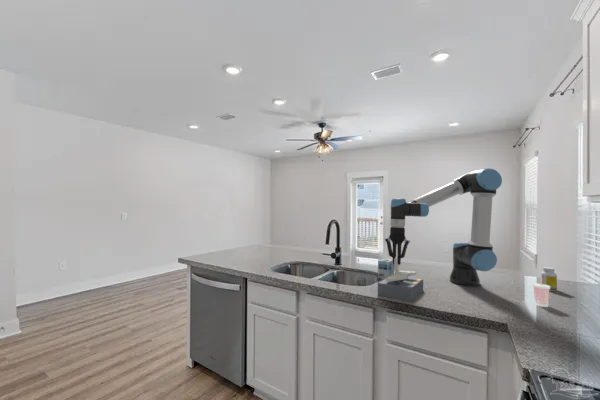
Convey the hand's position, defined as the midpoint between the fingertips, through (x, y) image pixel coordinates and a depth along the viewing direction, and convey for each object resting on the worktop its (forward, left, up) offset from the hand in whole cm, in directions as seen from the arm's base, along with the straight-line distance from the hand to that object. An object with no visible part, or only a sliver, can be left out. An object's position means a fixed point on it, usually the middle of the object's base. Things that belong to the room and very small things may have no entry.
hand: (396, 270), depth 153 cm
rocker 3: (-5, 0, -1) cm, 5 cm away
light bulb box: (+12, -18, -10) cm, 24 cm away
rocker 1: (-5, +14, -1) cm, 15 cm away
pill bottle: (-66, -49, -10) cm, 83 cm away
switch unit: (-5, +7, -10) cm, 13 cm away
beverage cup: (-61, -15, -10) cm, 63 cm away
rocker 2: (-5, +7, -1) cm, 8 cm away
